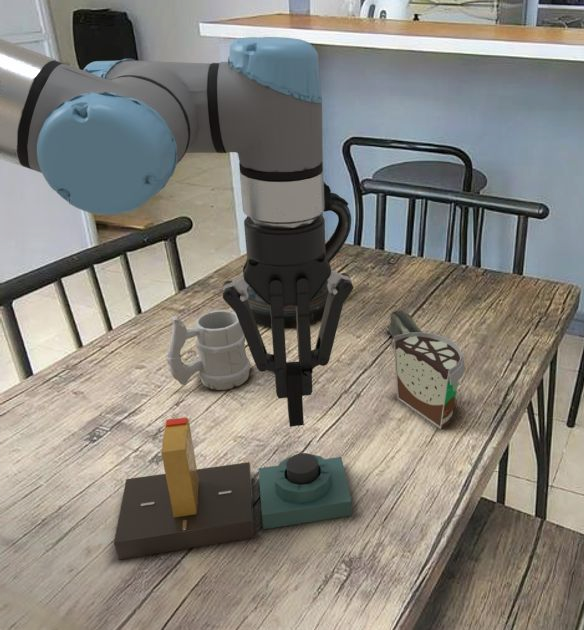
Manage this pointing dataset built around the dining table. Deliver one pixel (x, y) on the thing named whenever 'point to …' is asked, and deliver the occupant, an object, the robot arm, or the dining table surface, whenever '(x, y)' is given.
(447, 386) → the food container
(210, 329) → the mug
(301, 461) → the bell button
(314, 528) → the dining table surface
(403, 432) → the dining table surface
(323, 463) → the push button box
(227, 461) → the dining table surface
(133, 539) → the lock plate
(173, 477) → the lock knob
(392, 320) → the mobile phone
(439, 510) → the dining table surface
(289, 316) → the beer stein
